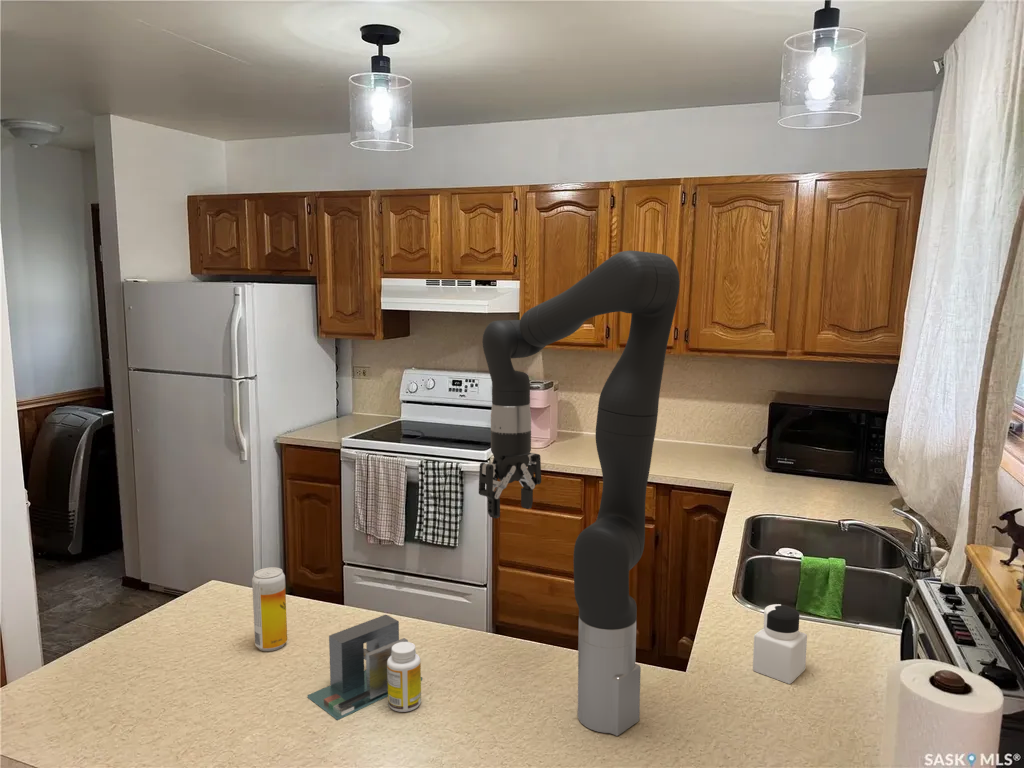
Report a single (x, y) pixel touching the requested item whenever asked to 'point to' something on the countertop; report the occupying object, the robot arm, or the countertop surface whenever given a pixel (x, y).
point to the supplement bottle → (404, 677)
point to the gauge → (353, 664)
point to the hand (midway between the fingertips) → (510, 512)
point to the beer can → (269, 608)
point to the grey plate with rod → (374, 673)
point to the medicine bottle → (780, 645)
